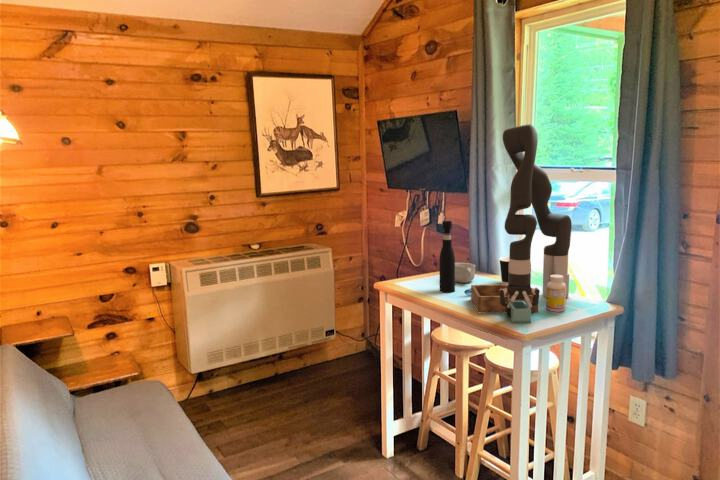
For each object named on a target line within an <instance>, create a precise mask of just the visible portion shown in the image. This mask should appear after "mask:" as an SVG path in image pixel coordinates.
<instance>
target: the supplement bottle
mask: <svg viewBox="0 0 720 480" xmlns="http://www.w3.org/2000/svg"><path fill="white" fill-rule="evenodd" d="M550 280H551V281H550V282H548V284H547V297H546V309H547V310H548V311H550V312H557V313H558V312H559V313H560V312H564V311H565V310H566V301H567V299H566V298H567V297H566V284H565V283H564V282H563V276H562V275H550Z"/></svg>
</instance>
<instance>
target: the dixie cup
mask: <svg viewBox="0 0 720 480" xmlns="http://www.w3.org/2000/svg"><path fill="white" fill-rule="evenodd" d="M498 260H499V267H500V278H501V282H502V285H505V284H508V269H509V257H507V256H505V257H504V256H503V257H499V259H498Z"/></svg>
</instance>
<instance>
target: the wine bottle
mask: <svg viewBox="0 0 720 480" xmlns="http://www.w3.org/2000/svg"><path fill="white" fill-rule="evenodd" d="M441 225H442V230H443V239H442V247H441V250H440V254H439V291H440V292H441V293H445V294H451V293H454V292H456V281H455V263H456V257H455V252H454V249H453V245H452V242H453V240H452V235H451V230H452V229H453V228H452V227H453V221H452V220H443V221H442V224H441Z"/></svg>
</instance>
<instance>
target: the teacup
mask: <svg viewBox="0 0 720 480" xmlns="http://www.w3.org/2000/svg"><path fill="white" fill-rule="evenodd" d="M476 266H477V265H476V264H474V263H468V262H455V283H462V284H463V283H465V284H467V283H468V284H469V283H470V282H471V281H473V280H474V279H475V273H476Z"/></svg>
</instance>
